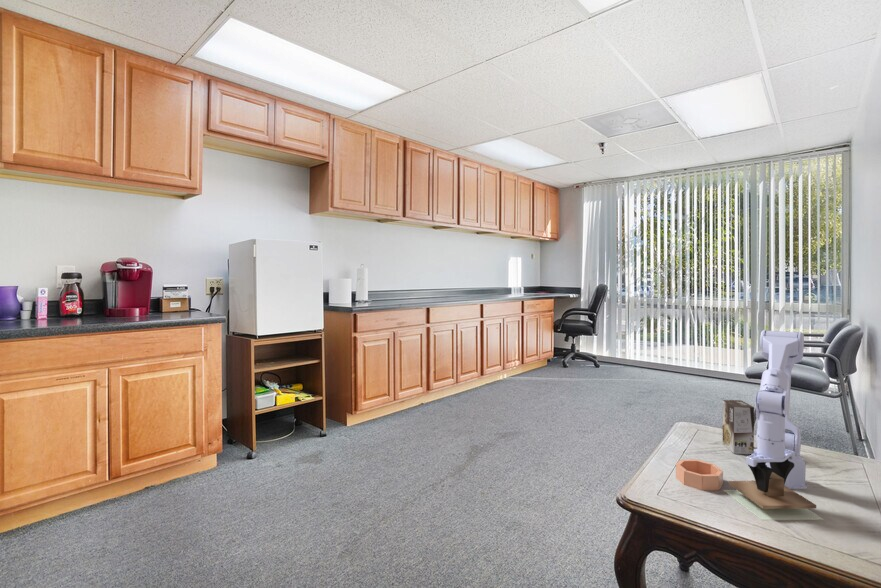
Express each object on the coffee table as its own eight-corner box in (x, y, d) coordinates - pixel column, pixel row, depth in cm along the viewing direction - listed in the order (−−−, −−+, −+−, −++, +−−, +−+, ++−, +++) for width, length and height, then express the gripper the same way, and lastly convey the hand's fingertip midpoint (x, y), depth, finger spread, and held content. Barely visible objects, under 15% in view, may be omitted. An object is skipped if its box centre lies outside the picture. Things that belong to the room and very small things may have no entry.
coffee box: (754, 455, 146) (755, 407, 146) (733, 454, 147) (733, 406, 147) (741, 444, 155) (742, 399, 154) (721, 443, 156) (722, 399, 156)
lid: (776, 483, 121) (776, 464, 121) (816, 508, 108) (816, 487, 108) (729, 483, 121) (729, 465, 121) (763, 508, 108) (763, 487, 108)
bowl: (706, 473, 133) (706, 459, 133) (730, 491, 122) (730, 475, 122) (670, 474, 133) (670, 459, 133) (690, 492, 122) (690, 476, 122)
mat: (777, 491, 122) (777, 489, 122) (823, 521, 107) (823, 519, 107) (723, 491, 122) (723, 490, 122) (761, 521, 107) (761, 519, 107)
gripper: (775, 429, 120) (775, 478, 120) (735, 435, 116) (734, 486, 116) (803, 438, 113) (802, 489, 114) (761, 445, 109) (761, 499, 109)
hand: (770, 488), depth 114 cm, fingers closed on lid, 5 cm apart
